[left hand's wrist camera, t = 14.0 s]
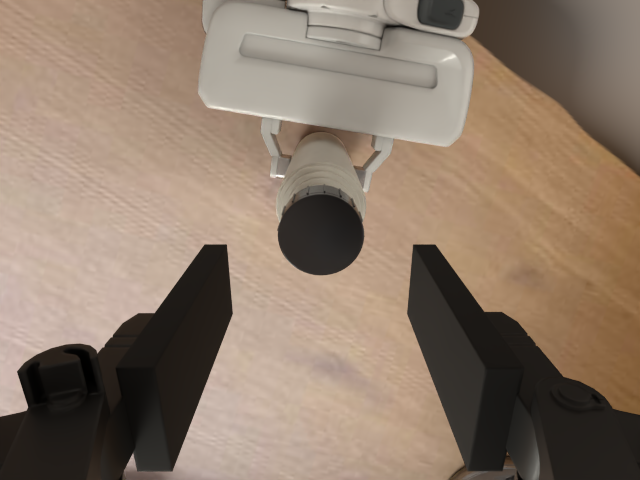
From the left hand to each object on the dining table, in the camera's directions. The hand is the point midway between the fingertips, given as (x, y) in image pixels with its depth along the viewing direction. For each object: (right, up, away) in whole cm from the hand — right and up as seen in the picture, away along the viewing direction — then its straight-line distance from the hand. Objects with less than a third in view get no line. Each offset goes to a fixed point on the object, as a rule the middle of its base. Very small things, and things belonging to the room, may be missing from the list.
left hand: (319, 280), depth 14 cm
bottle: (0, +9, +26) cm, 27 cm away
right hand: (0, +6, +20) cm, 21 cm away
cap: (0, +2, +5) cm, 5 cm away
